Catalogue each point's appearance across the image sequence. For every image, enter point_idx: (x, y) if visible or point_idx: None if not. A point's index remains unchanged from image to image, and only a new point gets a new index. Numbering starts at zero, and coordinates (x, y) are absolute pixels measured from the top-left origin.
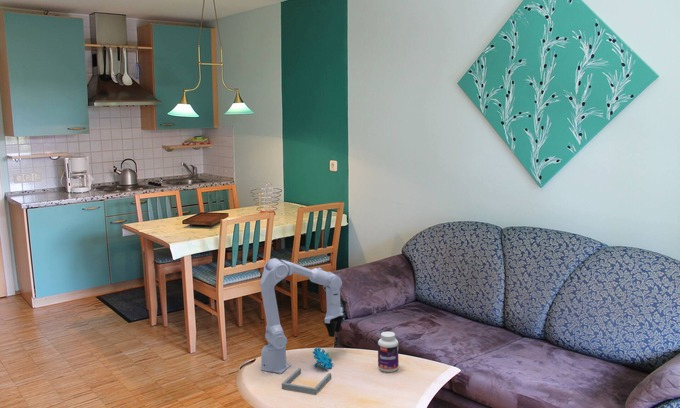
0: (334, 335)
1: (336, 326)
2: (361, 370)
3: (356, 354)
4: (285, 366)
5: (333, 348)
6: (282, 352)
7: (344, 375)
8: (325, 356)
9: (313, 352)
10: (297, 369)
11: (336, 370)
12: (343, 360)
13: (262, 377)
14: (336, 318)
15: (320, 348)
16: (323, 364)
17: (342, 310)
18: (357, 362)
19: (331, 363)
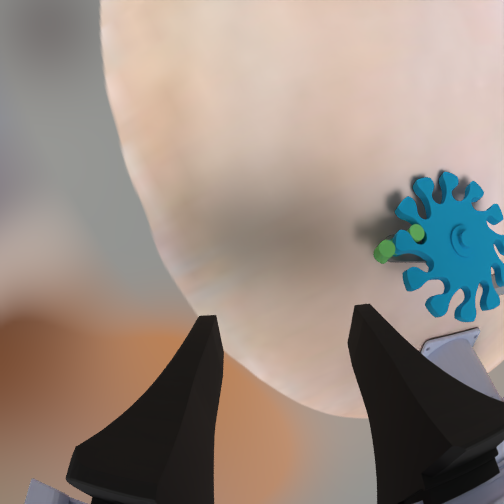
0: (362, 309)
1: (211, 384)
2: (410, 3)
3: (198, 103)
4: (456, 343)
5: (184, 277)
6: (491, 386)
7: (483, 83)
8: (439, 241)
9: (496, 302)
10: (498, 294)
11: (453, 138)
12: (326, 143)
13: (488, 349)
14: (197, 480)
15: (432, 304)
16: (493, 212)
17: (33, 499)
18: (321, 45)
19: (427, 187)
